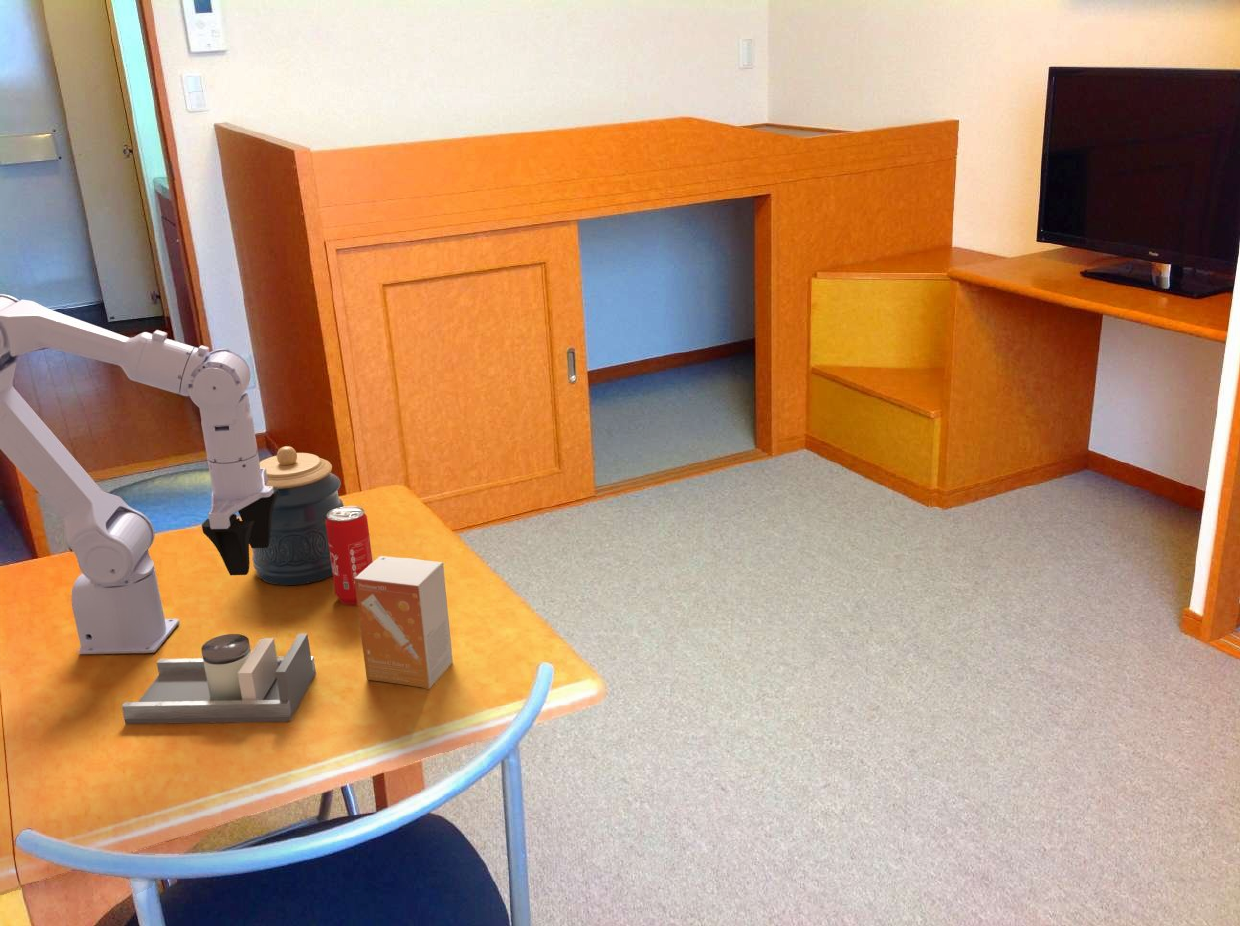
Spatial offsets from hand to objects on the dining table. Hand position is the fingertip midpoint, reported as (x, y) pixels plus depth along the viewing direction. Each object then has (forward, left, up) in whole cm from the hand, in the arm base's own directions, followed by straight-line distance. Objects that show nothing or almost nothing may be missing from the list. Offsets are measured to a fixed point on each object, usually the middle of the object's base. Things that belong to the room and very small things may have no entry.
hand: (250, 560), depth 141 cm
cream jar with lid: (+2, -16, -9) cm, 18 cm away
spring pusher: (+6, -16, -9) cm, 19 cm away
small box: (+21, -11, -10) cm, 26 cm away
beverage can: (+10, +8, -10) cm, 16 cm away
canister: (0, +18, -10) cm, 20 cm away
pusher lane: (+1, -16, -9) cm, 19 cm away
